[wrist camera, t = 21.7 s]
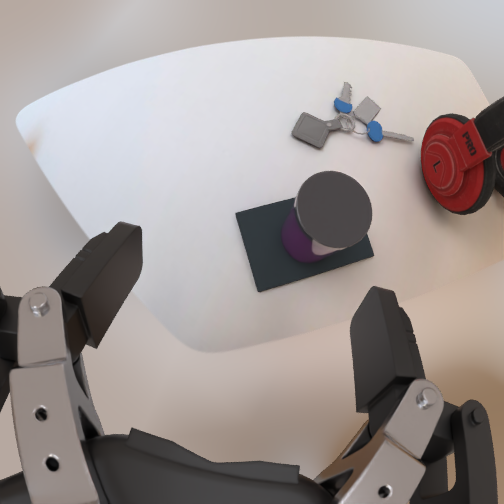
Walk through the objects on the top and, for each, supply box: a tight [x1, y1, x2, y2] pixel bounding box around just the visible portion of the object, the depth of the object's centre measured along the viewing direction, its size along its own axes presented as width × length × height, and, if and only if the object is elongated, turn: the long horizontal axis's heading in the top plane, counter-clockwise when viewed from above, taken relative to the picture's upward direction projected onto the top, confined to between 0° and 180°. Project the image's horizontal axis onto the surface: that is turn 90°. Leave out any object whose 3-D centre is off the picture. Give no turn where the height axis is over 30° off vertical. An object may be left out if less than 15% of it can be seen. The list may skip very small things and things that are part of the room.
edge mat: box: [236, 197, 374, 292], centre depth 26 cm, size 11×7×1 cm, turn 106°
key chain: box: [292, 82, 414, 148], centre depth 28 cm, size 14×8×1 cm, turn 101°
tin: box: [281, 171, 372, 263], centre depth 22 cm, size 5×5×8 cm
